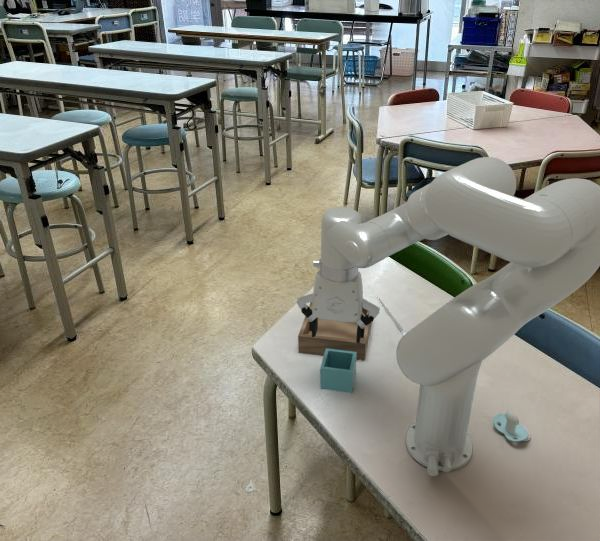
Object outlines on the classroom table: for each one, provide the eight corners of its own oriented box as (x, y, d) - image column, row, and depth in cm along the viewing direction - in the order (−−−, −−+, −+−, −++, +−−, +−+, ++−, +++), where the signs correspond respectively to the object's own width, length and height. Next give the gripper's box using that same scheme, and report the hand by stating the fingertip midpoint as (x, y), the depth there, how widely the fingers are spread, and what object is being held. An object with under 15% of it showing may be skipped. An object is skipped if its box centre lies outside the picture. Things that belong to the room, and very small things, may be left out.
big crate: (364, 360, 129) (365, 343, 127) (298, 352, 132) (298, 335, 130) (371, 321, 143) (372, 305, 140) (311, 315, 146) (311, 299, 143)
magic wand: (371, 293, 157) (375, 288, 157) (408, 342, 136) (412, 337, 135) (367, 290, 156) (370, 286, 156) (403, 340, 135) (407, 334, 135)
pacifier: (509, 416, 113) (487, 426, 111) (515, 393, 110) (493, 402, 107) (537, 440, 107) (515, 451, 105) (544, 416, 104) (521, 427, 102)
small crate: (351, 393, 120) (352, 372, 117) (320, 389, 121) (320, 368, 118) (355, 372, 126) (356, 352, 123) (325, 368, 127) (325, 348, 124)
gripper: (292, 273, 107) (293, 341, 116) (381, 283, 104) (375, 352, 113) (300, 254, 114) (301, 321, 123) (384, 263, 110) (378, 331, 119)
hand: (336, 336), depth 118 cm, fingers open, 9 cm apart
